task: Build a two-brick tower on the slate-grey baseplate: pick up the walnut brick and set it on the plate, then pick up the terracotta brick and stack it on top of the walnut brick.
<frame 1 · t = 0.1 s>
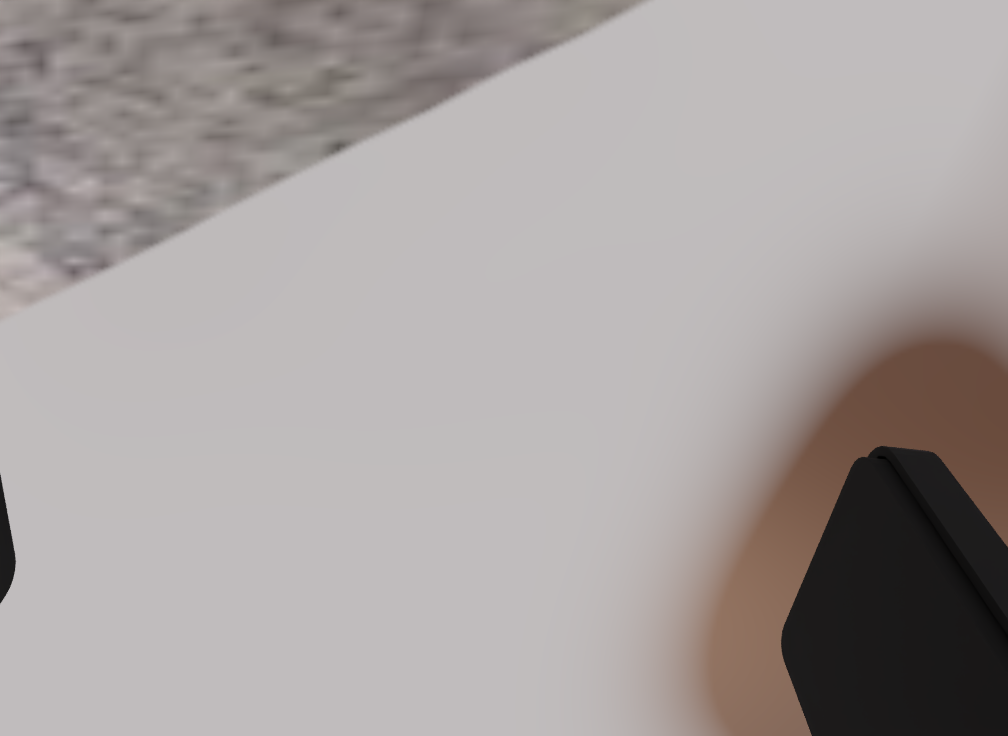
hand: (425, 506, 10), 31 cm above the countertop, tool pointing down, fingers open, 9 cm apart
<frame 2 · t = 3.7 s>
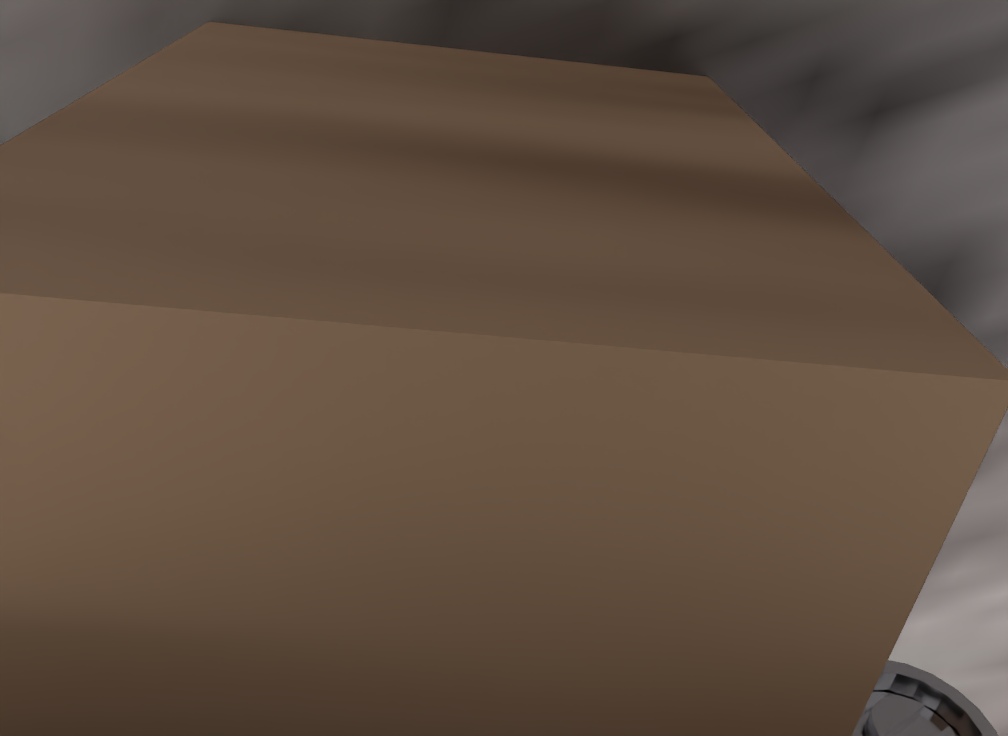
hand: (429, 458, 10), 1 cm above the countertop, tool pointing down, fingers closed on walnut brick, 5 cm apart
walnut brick: (433, 421, 11), on the countertop, touching gripper
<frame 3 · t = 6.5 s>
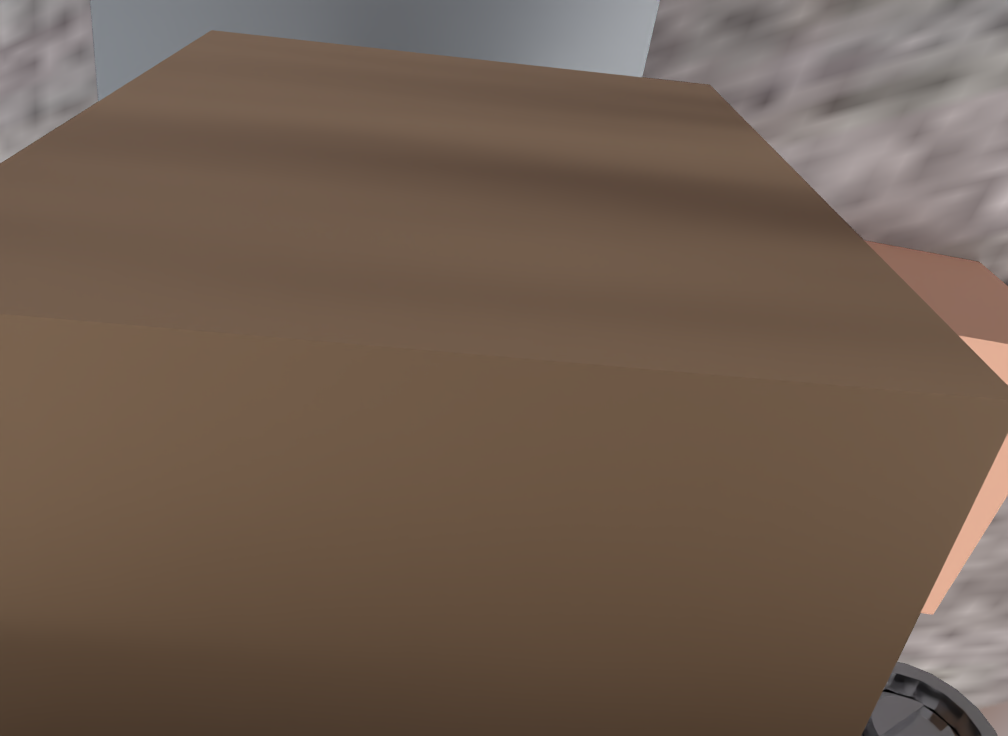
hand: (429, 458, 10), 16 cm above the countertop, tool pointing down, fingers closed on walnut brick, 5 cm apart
baseplate: (370, 116, 24), on the countertop
terracotta brick: (843, 371, 29), on the countertop
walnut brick: (434, 428, 11), point 15 cm above the countertop, touching gripper
when the fingers open (3 cm above the countertop, at t = 9.6 s): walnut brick drops 1 cm, resting on baseplate.
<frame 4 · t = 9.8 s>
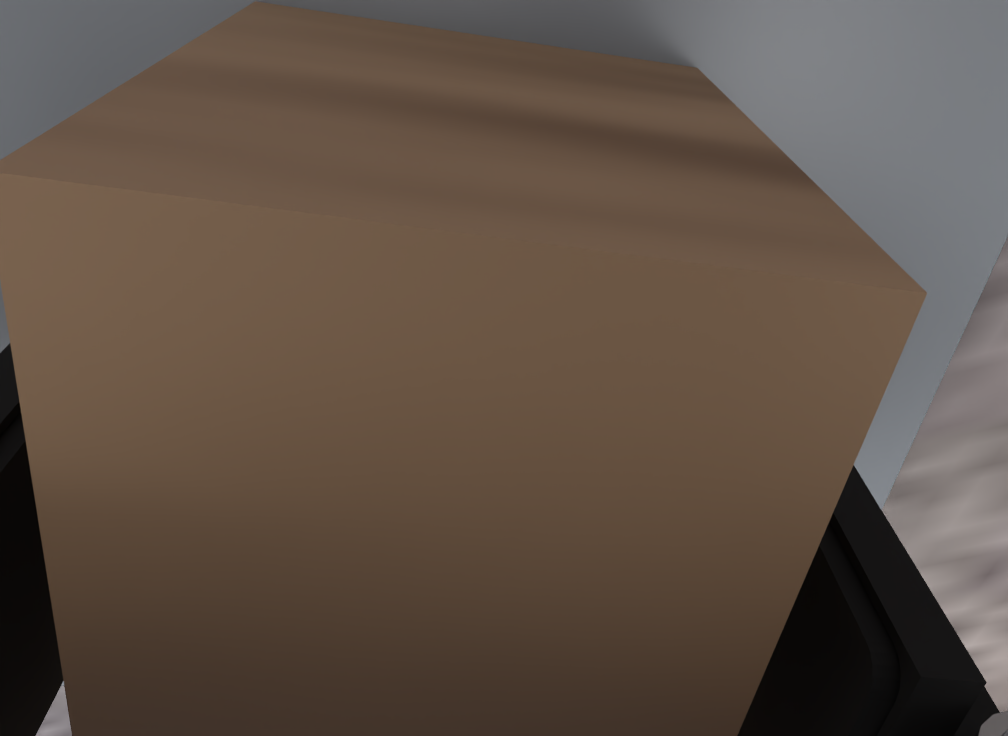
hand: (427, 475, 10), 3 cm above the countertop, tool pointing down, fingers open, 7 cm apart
baseplate: (439, 341, 13), on the countertop
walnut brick: (438, 376, 12), point 1 cm above the countertop, touching baseplate
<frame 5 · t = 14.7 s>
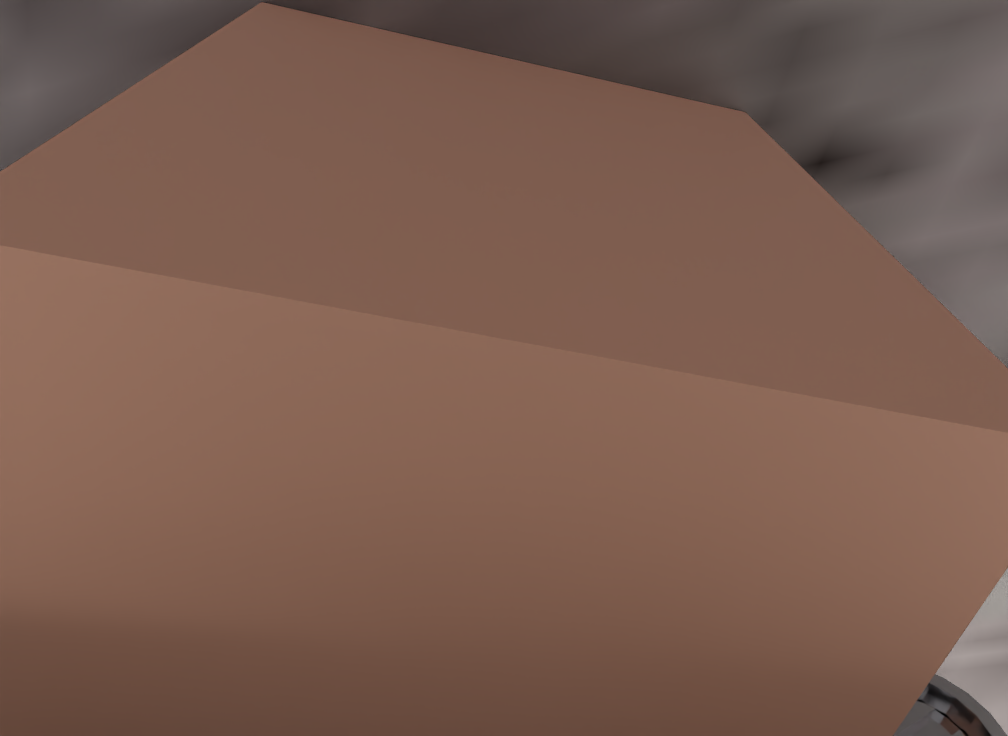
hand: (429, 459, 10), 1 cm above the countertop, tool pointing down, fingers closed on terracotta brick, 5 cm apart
terracotta brick: (433, 422, 11), on the countertop, touching gripper
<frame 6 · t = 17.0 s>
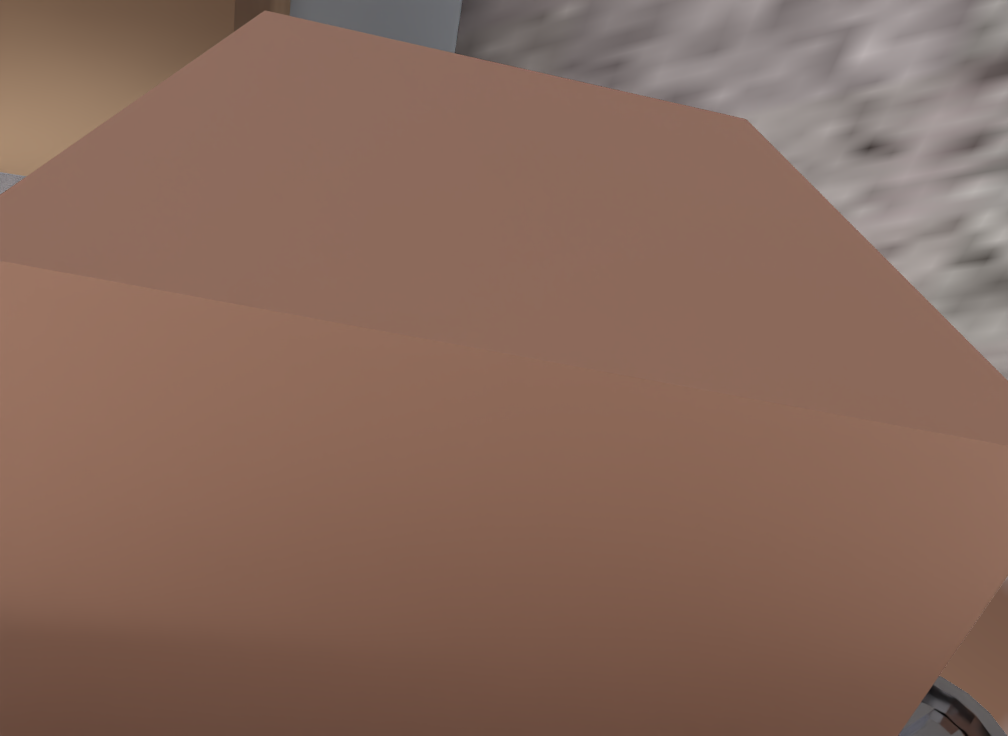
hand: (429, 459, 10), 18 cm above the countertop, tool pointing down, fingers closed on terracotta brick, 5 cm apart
terracotta brick: (435, 426, 11), point 17 cm above the countertop, touching gripper
when the fingers open (9 cm above the countertop, at t = 19.5 s): terracotta brick drops 1 cm, resting on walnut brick.
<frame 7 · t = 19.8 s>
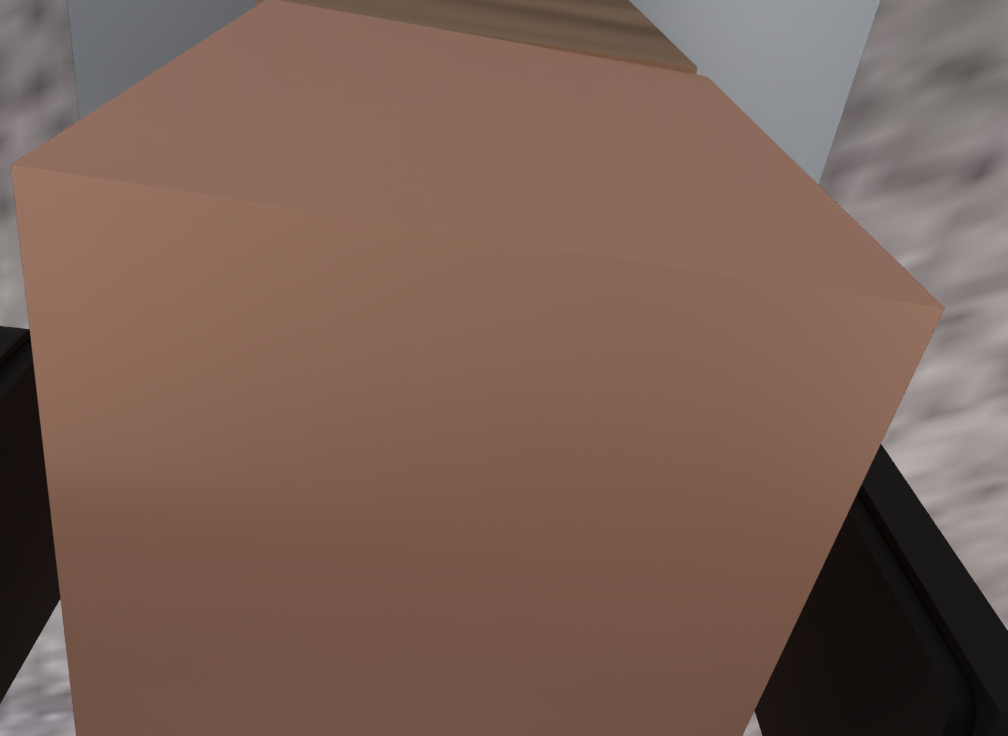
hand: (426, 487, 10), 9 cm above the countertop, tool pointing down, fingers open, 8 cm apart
baseplate: (452, 202, 18), on the countertop
terracotta brick: (440, 377, 12), point 7 cm above the countertop, touching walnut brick
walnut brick: (452, 220, 17), point 1 cm above the countertop, touching baseplate, terracotta brick
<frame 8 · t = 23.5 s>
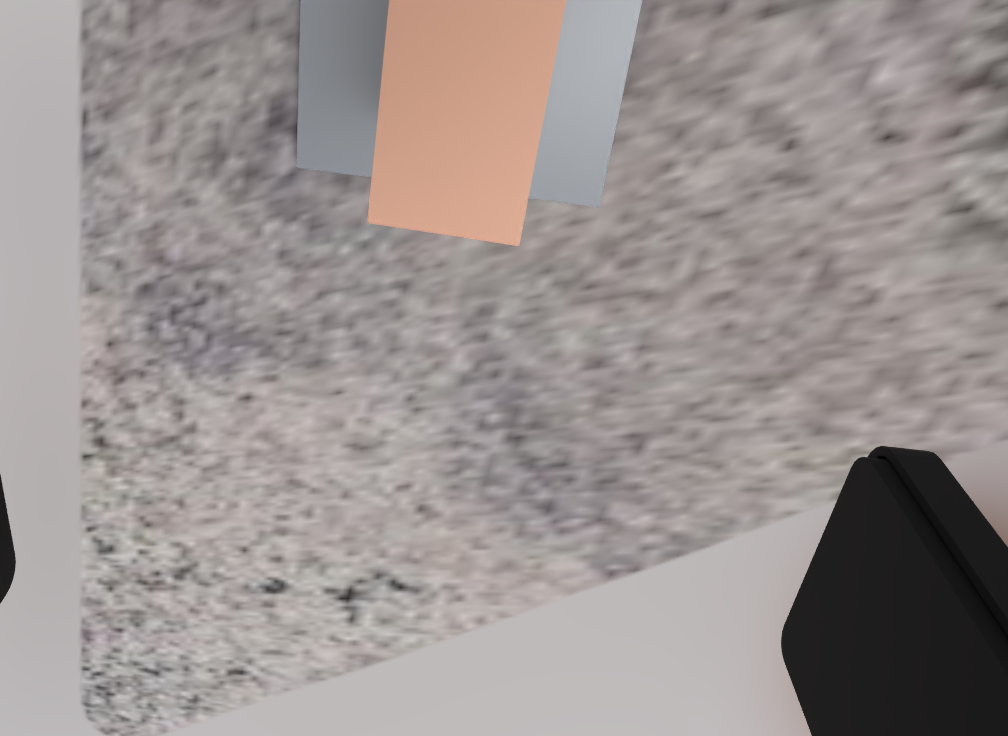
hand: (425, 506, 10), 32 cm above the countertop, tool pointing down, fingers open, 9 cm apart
baseplate: (469, 24, 37), on the countertop
terracotta brick: (467, 56, 31), point 7 cm above the countertop, touching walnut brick
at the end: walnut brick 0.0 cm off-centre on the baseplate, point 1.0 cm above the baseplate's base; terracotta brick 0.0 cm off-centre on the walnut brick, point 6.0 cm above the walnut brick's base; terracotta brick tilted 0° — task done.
